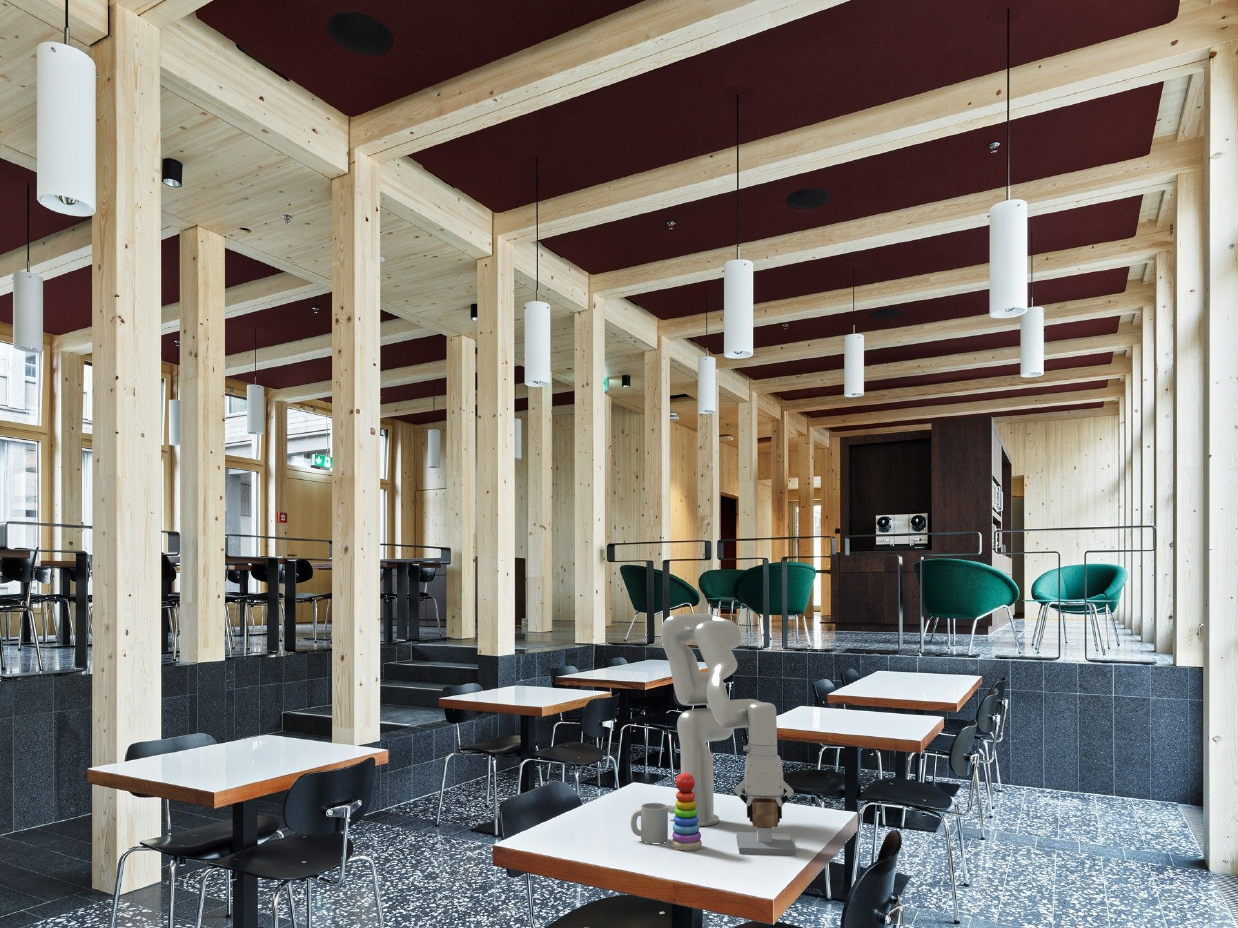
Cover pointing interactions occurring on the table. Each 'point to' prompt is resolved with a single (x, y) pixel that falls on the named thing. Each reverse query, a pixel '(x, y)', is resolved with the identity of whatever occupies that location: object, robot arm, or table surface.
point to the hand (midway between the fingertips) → (764, 820)
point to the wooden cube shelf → (764, 812)
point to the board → (764, 842)
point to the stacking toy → (685, 816)
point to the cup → (651, 823)
